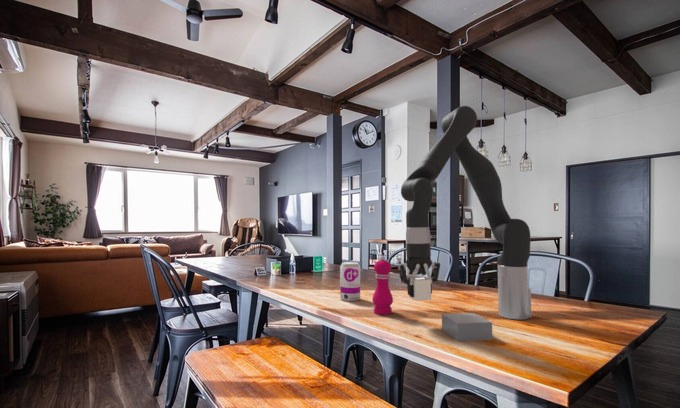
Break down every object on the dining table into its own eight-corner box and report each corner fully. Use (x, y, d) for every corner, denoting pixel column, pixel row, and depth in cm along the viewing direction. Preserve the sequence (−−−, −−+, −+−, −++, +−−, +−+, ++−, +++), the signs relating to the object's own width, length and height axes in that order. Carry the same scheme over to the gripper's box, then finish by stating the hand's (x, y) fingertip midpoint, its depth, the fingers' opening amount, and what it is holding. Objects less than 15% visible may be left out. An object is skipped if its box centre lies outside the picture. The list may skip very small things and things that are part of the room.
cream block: (423, 296, 111) (423, 277, 111) (431, 299, 106) (430, 279, 107) (409, 297, 110) (408, 278, 110) (416, 300, 105) (415, 280, 105)
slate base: (473, 329, 104) (473, 312, 104) (492, 341, 94) (492, 322, 94) (441, 330, 102) (441, 313, 103) (457, 342, 93) (457, 323, 93)
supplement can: (360, 301, 139) (360, 264, 140) (340, 301, 139) (340, 264, 140) (359, 297, 147) (359, 261, 148) (340, 297, 147) (340, 261, 148)
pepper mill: (392, 315, 118) (392, 256, 119) (371, 314, 119) (371, 256, 121) (393, 310, 125) (393, 254, 126) (373, 309, 126) (373, 254, 128)
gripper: (432, 240, 114) (434, 292, 113) (392, 241, 111) (393, 295, 110) (444, 241, 107) (446, 297, 106) (401, 243, 104) (403, 300, 103)
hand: (419, 296), depth 108 cm, fingers closed on cream block, 5 cm apart
